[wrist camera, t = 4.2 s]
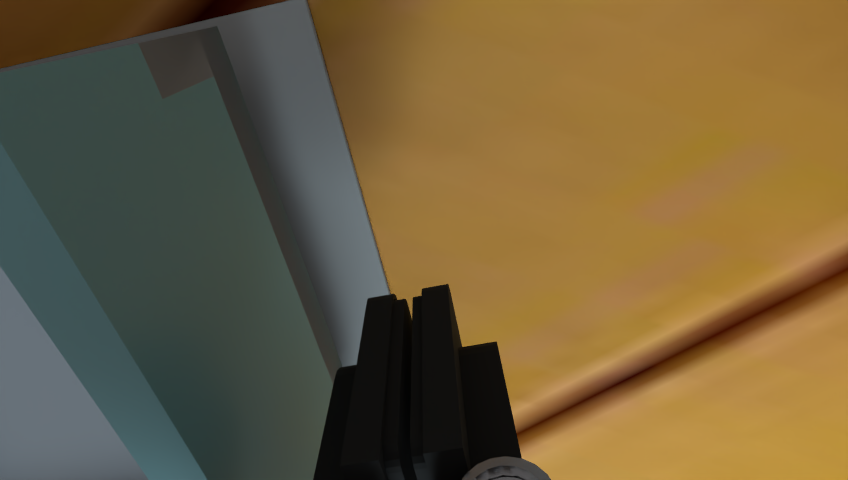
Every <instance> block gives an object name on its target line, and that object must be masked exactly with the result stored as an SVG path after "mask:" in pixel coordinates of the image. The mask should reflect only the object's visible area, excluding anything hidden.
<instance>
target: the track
mask: <svg viewBox="0 0 848 480" xmlns="http://www.w3.org/2000/svg"><path fill="white" fill-rule="evenodd" d="M215 26H217V27H218V30H219V32H220V35H221V38H222V40H223V43H224V46H225V49H226V51H227V54H228V57H229V59H230V62H231V65H232V68H233V70H234V73H235V76H236V79H237V81H238V84H239V87H240V89H241V92H242V95H243V98H244V100H245V103H246V106H247V108H248V111H249V114H250V117H251V119H252V122H253V125H254V128H255V130H256V133H257V136H258V138H259V141H260V144H261V147H262V149H263V152H264V155H265V157H266V160H267V163H268V166H269V168H270V171H271V174H272V177H273V179H274V182H275V185H276V187H277V190H278V193H279V196H280V198H281V201H282V204H283V206H284V209H285V212H286V215H287V217H288V220H289V223H290V225H291V228H292V231H293V234H294V236H295V239H296V242H297V245H298V247H299V250H300V253H301V255H302V258H303V261H304V264H305V266H306V269H307V272H308V274H309V277H310V280H311V283H312V285H313V288H314V291H315V294H316V296H317V299H318V302H319V304H320V307H321V310H322V313H323V315H324V318H325V321H326V323H327V326H328V329H329V332H330V334H331V337H332V340H333V343H334V345H335V348H336V351H337V353H338V356H339V359H340V362H341V364H342V367H346V366H352V365H357V359H358V352H359V346H360V340H361V334H362V328H363V322H364V316H365V310H366V304H367V300H368V298H372V297H378V296H383V295H389V294H390V290H389V287H388V283H387V280H386V276H385V273H384V269H383V266H382V262H381V258H380V255H379V251H378V248H377V244H376V241H375V237H374V234H373V230H372V227H371V223H370V220H369V216H368V213H367V209H366V206H365V202H364V199H363V195H362V192H361V188H360V185H359V181H358V178H357V174H356V171H355V167H354V164H353V160H352V157H351V153H350V150H349V146H348V142H347V139H346V135H345V132H344V128H343V125H342V121H341V118H340V114H339V111H338V107H337V104H336V100H335V97H334V93H333V90H332V86H331V83H330V79H329V76H328V72H327V69H326V65H325V62H324V58H323V55H322V51H321V48H320V44H319V41H318V37H317V34H316V30H315V26H314V23H313V19H312V16H311V12H310V9H309V5H308V2H307V0H289V1H285V2H281V3H276V4H272V5H268V6H264V7H260V8H255V9H251V10H247V11H243V12H238V13H234V14H230V15H226V16H221V17H217V18H213V19H209V20H204V21H200V22H196V23H192V24H188V25H183V26H179V27H175V28H171V29H166V30H162V31H158V32H154V33H149V34H145V35H141V36H137V37H133V38H128V39H124V40H120V41H116V42H111V43H107V44H103V45H99V46H94V47H90V48H86V49H82V50H77V51H73V52H69V53H65V54H61V55H56V56H52V57H48V58H44V59H39V60H35V61H31V62H27V63H22V64H18V65H14V66H10V67H6V68H1V69H0V73H1V72H5V71H10V70H15V69H19V68H24V67H29V66H33V65H38V64H43V63H47V62H52V61H57V60H61V59H66V58H71V57H75V56H80V55H85V54H89V53H94V52H99V51H103V50H108V49H113V48H117V47H122V46H127V45H131V44H136V43H140V42H145V41H150V40H154V39H159V38H164V37H168V36H173V35H178V34H182V33H187V32H192V31H196V30H201V29H206V28H210V27H215Z"/></svg>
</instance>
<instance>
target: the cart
mask: <svg viewBox="0 0 848 480" xmlns="http://www.w3.org/2000/svg"><path fill="white" fill-rule="evenodd" d="M340 367H342V364H341V362H340V359H339V356H338V353H337V351H336V348H335V345H334V343H333V340H332V337H331V334H330V332H329V329H328V326H327V323H326V321H325V318H324V315H323V313H322V310H321V307H320V304H319V302H318V299H317V296H316V294H315V291H314V288H313V285H312V283H311V280H310V277H309V274H308V272H307V269H306V266H305V264H304V261H303V258H302V255H301V253H300V250H299V247H298V245H297V242H296V239H295V236H294V234H293V231H292V228H291V225H290V223H289V220H288V217H287V215H286V212H285V209H284V206H283V204H282V201H281V198H280V196H279V193H278V190H277V187H276V185H275V182H274V179H273V177H272V174H271V171H270V168H269V166H268V163H267V160H266V157H265V155H264V152H263V149H262V147H261V144H260V141H259V138H258V136H257V133H256V130H255V128H254V125H253V122H252V119H251V117H250V114H249V111H248V108H247V106H246V103H245V100H244V98H243V95H242V92H241V89H240V87H239V84H238V81H237V79H236V76H235V73H234V70H233V68H232V65H231V62H230V59H229V57H228V54H227V51H226V49H225V46H224V43H223V40H222V38H221V35H220V32H219V30H218V27H217V26H215V27H210V28H206V29H201V30H196V31H192V32H187V33H182V34H178V35H173V36H168V37H164V38H159V39H154V40H150V41H145V42H140V43H136V44H131V45H127V46H122V47H117V48H113V49H108V50H103V51H99V52H94V53H89V54H85V55H80V56H75V57H71V58H66V59H61V60H57V61H52V62H47V63H43V64H38V65H33V66H29V67H24V68H19V69H15V70H10V71H5V72H1V73H0V480H313V478H314V473H315V468H316V464H317V459H318V454H319V450H320V445H321V440H322V435H323V431H324V426H325V421H326V417H327V412H328V407H329V403H330V398H331V393H332V389H333V384H334V379H335V375H336V372H337V370H338V369H339V368H340Z"/></svg>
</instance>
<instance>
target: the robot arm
mask: <svg viewBox="0 0 848 480" xmlns="http://www.w3.org/2000/svg"><path fill="white" fill-rule="evenodd" d="M313 480H551V479H550V478H549V476H548V475H547V474H546V473H545V472H544V471H543V470H541V469H540V468H539V467H538V466H537V465H535V464H533V463H531V462H529V461H526V460H524V459H522V458H521V453H520V448H519V444H518V439H517V434H516V430H515V425H514V420H513V416H512V411H511V406H510V402H509V397H508V392H507V388H506V383H505V378H504V374H503V369H502V364H501V360H500V355H499V350H498V346H497V342H491V343H485V344H479V345H473V346H467V347H462V344H461V339H460V335H459V330H458V325H457V321H456V316H455V311H454V307H453V302H452V298H451V293H450V289H449V285H448V284H446V285H440V286H434V287H429V288H423V289H422V296H418V297H413V312H412V318H411V315H410V311H409V307H408V304H407V301H406V299H401V300H397V298H396V295H395V294H389V295H383V296H378V297H372V298H368V300H367V304H366V310H365V316H364V322H363V328H362V334H361V340H360V346H359V352H358V359H357V365H352V366H346V367H340V368H339V369H338V370H337V372H336V375H335V379H334V384H333V389H332V393H331V398H330V403H329V407H328V412H327V417H326V421H325V426H324V431H323V435H322V440H321V445H320V450H319V454H318V459H317V464H316V468H315V473H314V478H313Z"/></svg>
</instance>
